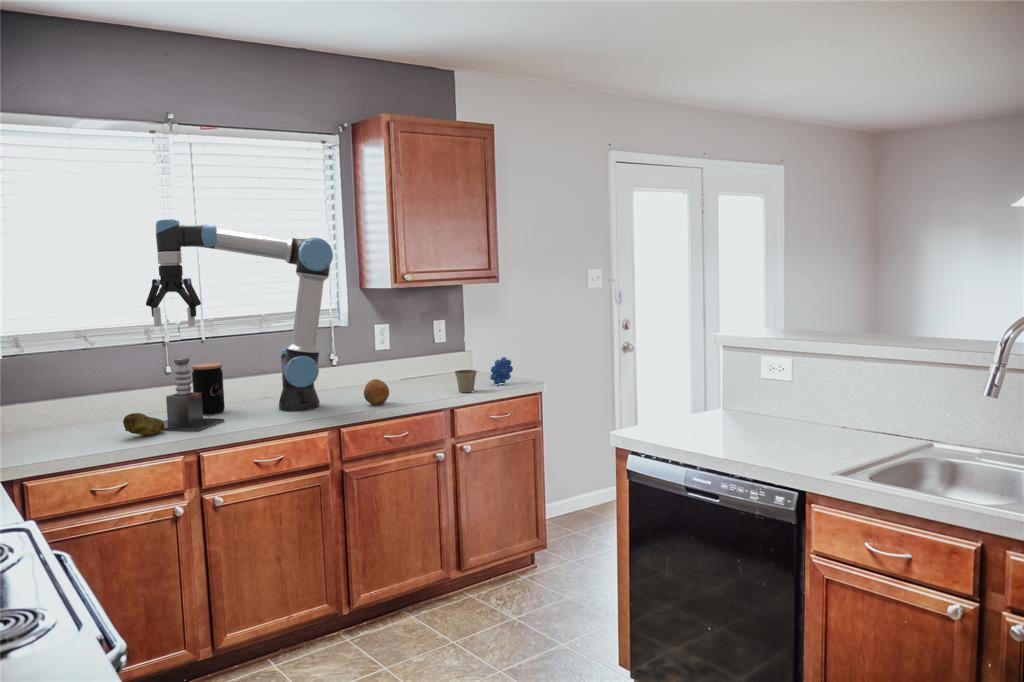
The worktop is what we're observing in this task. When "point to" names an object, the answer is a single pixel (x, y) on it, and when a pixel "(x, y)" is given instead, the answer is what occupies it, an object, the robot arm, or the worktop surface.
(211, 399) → the coffee jar
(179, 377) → the column
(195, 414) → the stand
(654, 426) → the worktop surface
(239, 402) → the worktop surface
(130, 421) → the potato
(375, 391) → the brown ball
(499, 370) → the grapes
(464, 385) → the flower pot
